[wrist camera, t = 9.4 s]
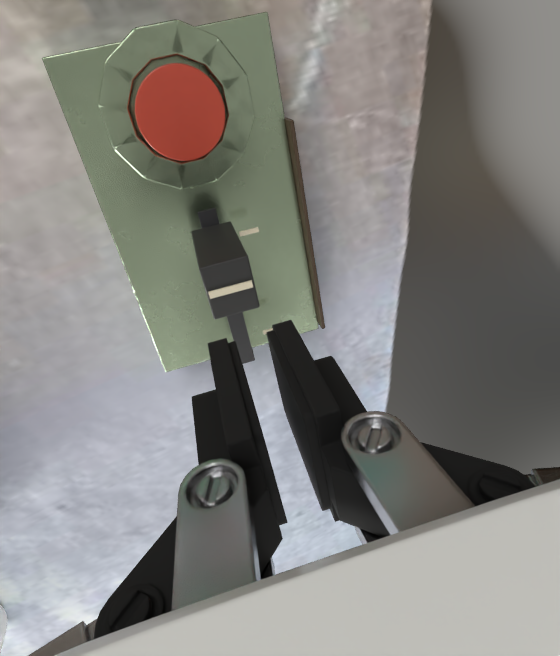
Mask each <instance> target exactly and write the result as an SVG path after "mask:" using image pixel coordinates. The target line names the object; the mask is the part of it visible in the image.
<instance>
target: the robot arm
mask: <svg viewBox="0 0 560 656" xmlns="http://www.w3.org/2000/svg"><path fill="white" fill-rule="evenodd" d="M272 328H273V330H271V331H268V332H266V334H267V338H268V343H269V347H270V351H271V355H272V360H273V364H274V368H275V372H276V377H277V381H278V385H279V390H280V394H281V398H282V402H283V406H284V410H285V413H286V416H287V419H288V422H289V424H290V427H291V430H292V432H293V435H294V438H295V440H296V443H297V446H298V448H299V451H300V453H301V456H302V459H303V461H304V464H305V467H306V469H307V472H308V475H309V477H310V480H311V483H312V485H313V488H314V491H315V493H316V496H317V499H318V501H319V504H320V506H321V509H322V511H324V510H327V509H330V510H331V513H332V515H333V518H334V520H335V522H336V521H339V520H340V521H343V522H345V523H348V524H350V525H353V526H355V530H356V533H357V535H358V537H359V539H360V541H361V543H362V545H361V546H358V547H355V548H352V549H349V550H346V551H343V552H340V553H337V554H334V555H331V556H328V557H326V558H323V559H320V560H317V561H314V562H311V563H308V564H305V565H302V566H299V567H297V568H294V569H291V570H288V571H285V572H282V573H279V574H276V575H275V568H274V563H273V560H272V555H273V554H274V552H275V550H276V549H277V547H278V545H279V544H280V542H281V540H282V539H283V538H282V535H281V531H280V527H279V525H282V524H285V523H287V519H286V516H285V512H284V508H283V505H282V501H281V498H280V494H279V490H278V487H277V483H276V480H275V476H274V472H273V469H272V465H271V462H270V458H269V454H268V451H267V447H266V444H265V440H264V437H263V433H262V430H261V426H260V423H259V419H258V416H257V412H256V409H255V406H254V402H253V399H252V395H251V392H250V388H249V385H248V382H247V378H246V375H245V371H244V368H243V365H242V361H241V358H240V354H239V351H238V348H237V344H236V341H233V342H229V343H228V341H227V338H224V339H221V340H217V341H213V342H210V343H208V349H209V355H210V360H211V365H212V371H213V376H214V381H215V387H216V390H213V391H209V392H206V393H202V394H199V395H196V396H192V406H193V415H194V424H195V434H196V443H197V453H198V462H199V465H198V466H197V467H195V468H193V469H192V470H191V471H190V472H189V473H188V474H187V475H186V476H185V478H184V479H183V481H182V483H181V485H180V489H179V493H178V508H177V517H176V518H175V519H174V520H173V522H172V523H171V524H170V525H169V526H168V528H167V529H166V530H165V531H164V532H163V534H162V535H161V536H160V537H159V539H158V540H157V541H156V542H155V543H154V545H153V546H152V547H151V548H150V549H149V551H148V552H147V553H146V554H145V555H144V557H143V558H142V559H141V560H140V562H139V563H138V564H137V565H136V566H135V568H134V569H133V570H132V571H131V572H130V574H129V575H128V576H127V577H126V578H125V580H124V581H123V582H122V583H121V585H120V586H119V587H118V588H117V589H116V591H115V592H114V593H113V594H112V595H111V597H110V598H109V599H108V601H107V602H106V604H105V605H104V607H103V608H102V610H101V611H100V614H99V616H98V619H96V620H94V621H93V622H91V623H90V624H88V625H86V624H85V623H84V622H83V621H82V622H81V623H79V624H78V625H76V626H74V627H73V628H71V629H70V630H68V631H67V632H65V633H63V634H62V635H60V636H59V637H57V638H55V639H54V640H52V641H51V642H49V643H48V644H46V645H44V646H43V647H41V648H40V649H38V650H36V651H35V652H33V653H32V654H30V655H29V656H560V467H554V468H538V469H532V470H531V474H528V475H523V474H522V473H520V472H519V471H517V470H515V469H512V468H510V467H507V466H504V465H501V464H497V463H494V462H490V461H486V460H483V459H479V458H475V457H472V456H468V455H465V454H461V453H458V452H454V451H450V450H446V449H443V448H439V447H435V446H432V445H429V444H425V443H421V442H419V440H418V439H417V438H416V437H415V436H414V435H413V433H412V432H411V431H410V430H409V429H408V428H407V427H406V426H405V424H404V423H403V422H402V421H401V420H399V419H398V418H397V417H396V416H393V415H391V414H389V413H385V412H380V411H369V412H367V411H366V409H365V408H364V406H363V405H362V403H361V401H360V400H359V398H358V396H357V395H356V393H355V392H354V390H353V388H352V387H351V385H350V384H349V382H348V380H347V379H346V377H345V376H344V374H343V372H342V371H341V369H340V367H339V366H338V364H337V363H336V361H335V359H334V358H333V357H332V356H328V357H325V358H322V359H318V360H315V361H314V360H313V358H312V357H311V355H310V353H309V351H308V349H307V347H306V346H305V344H304V342H303V340H302V338H301V336H300V335H299V333H298V331H297V329H296V327H295V325H294V324H293V322H292V320H288V321H284V322H281V323H277V324H274V325H272Z"/></svg>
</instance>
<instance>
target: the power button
mask: <svg viewBox="0 0 560 656" xmlns="http://www.w3.org/2000/svg"><path fill="white" fill-rule="evenodd" d="M135 116H136V121H137V124H138V127H139V130H140V132H141V134H142V135H143V137H144V139H145V140H146V141H147V143H148V144H149V145H150V146H151V147H152V148H153V149H154V150H156V151H157V152H158V153H160V154H161V155H163V156H165V157H168V158H170V159H174V160H179V161H189V160H194V159H198V158H200V157H202V156H204V155H206V154H207V153H209V152H210V151H211V150H212V149H213V148H214V147H215V146H216V144H217V143H218V141H219V140H220V138H221V136H222V133H223V130H224V126H225V107H224V102H223V99H222V96H221V94H220V92H219V90H218V88H217V86H216V85H215V84H214V82H213V81H212V80H211V79H210V78H209V77H208V76H207V75H206V74H205V73H204V72H202V71H201V70H199V69H197V68H195V67H193V66H190V65H187V64H182V63H171V64H166V65H162V66H160V67H158V68H156V69H154V70H153V71H151V72H150V73H149V74H148V75H147V76H146V77H145V79H144V80H143V81H142V83H141V85H140V86H139V89H138V91H137V95H136V99H135Z"/></svg>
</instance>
